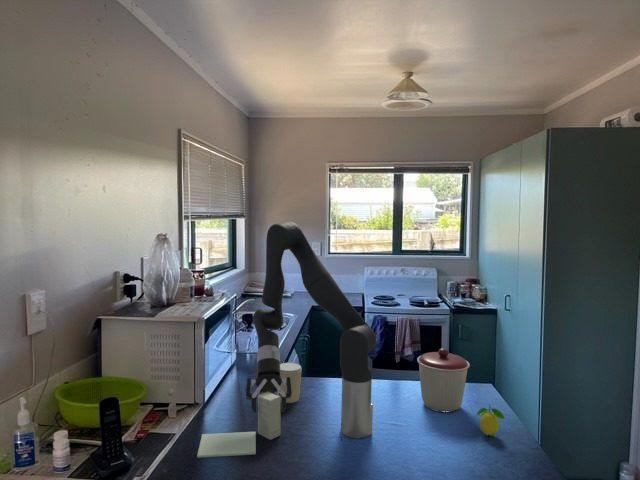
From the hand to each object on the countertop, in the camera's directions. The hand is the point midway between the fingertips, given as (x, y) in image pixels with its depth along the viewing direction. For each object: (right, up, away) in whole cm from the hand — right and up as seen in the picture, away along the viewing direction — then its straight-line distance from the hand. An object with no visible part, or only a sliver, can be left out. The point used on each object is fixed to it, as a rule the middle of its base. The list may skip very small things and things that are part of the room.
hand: (268, 411), depth 136 cm
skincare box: (0, -7, 0) cm, 7 cm away
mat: (-11, -7, -7) cm, 15 cm away
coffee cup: (+4, -6, +27) cm, 28 cm away
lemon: (+68, -9, +2) cm, 69 cm away
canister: (+59, -7, +23) cm, 64 cm away
